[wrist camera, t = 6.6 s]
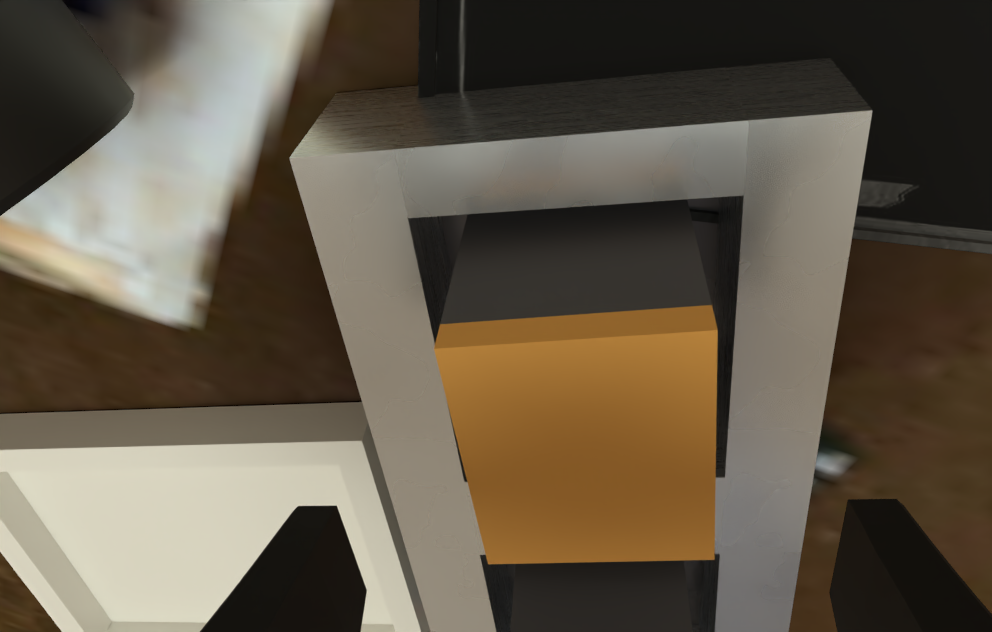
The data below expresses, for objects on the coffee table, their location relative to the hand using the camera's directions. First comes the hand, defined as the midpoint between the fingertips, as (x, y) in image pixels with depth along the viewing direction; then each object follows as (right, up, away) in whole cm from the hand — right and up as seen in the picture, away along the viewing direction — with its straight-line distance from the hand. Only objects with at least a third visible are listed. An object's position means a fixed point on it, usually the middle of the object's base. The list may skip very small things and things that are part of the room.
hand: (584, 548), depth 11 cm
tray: (-10, -3, +12) cm, 16 cm away
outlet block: (+1, +1, +8) cm, 8 cm away
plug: (+1, +4, +5) cm, 7 cm away
